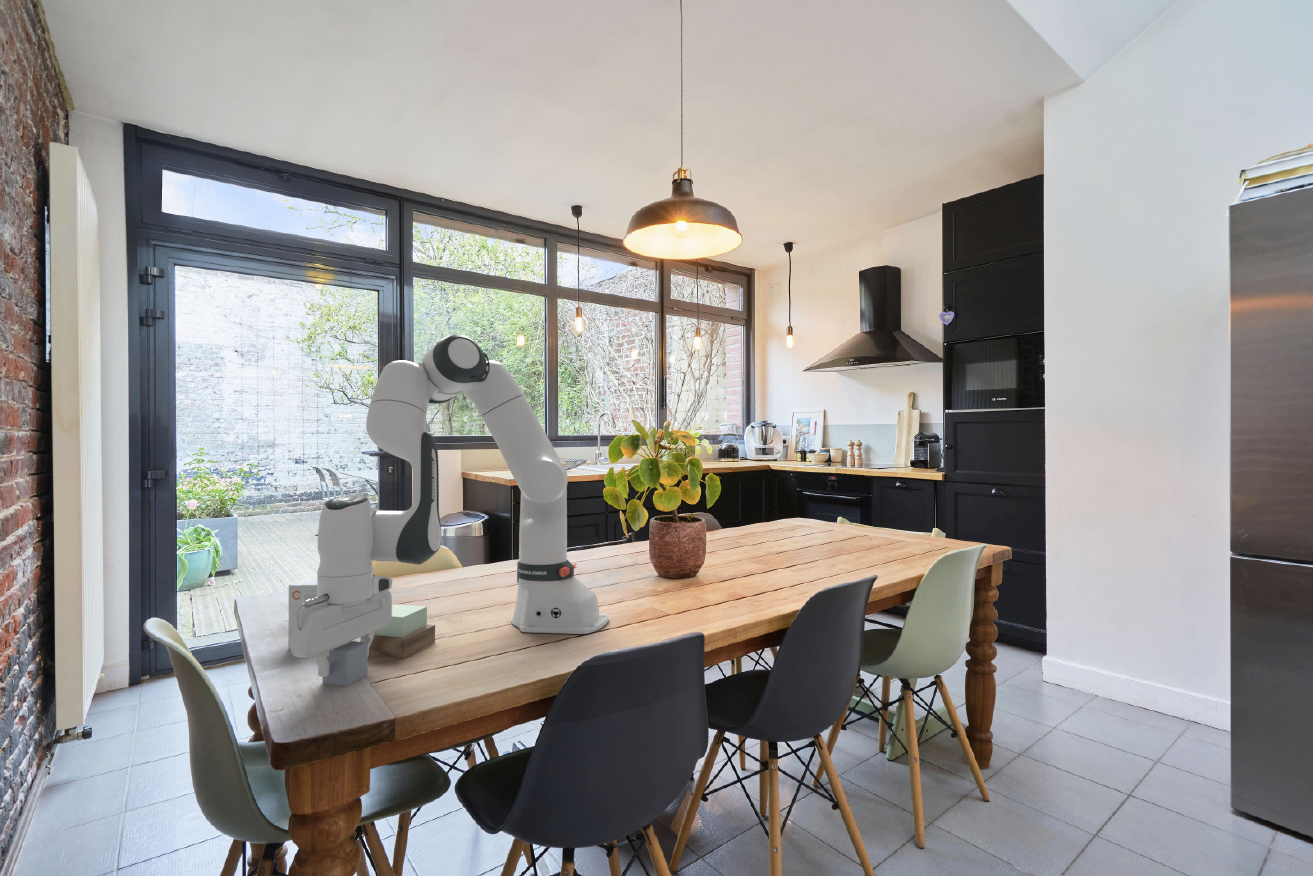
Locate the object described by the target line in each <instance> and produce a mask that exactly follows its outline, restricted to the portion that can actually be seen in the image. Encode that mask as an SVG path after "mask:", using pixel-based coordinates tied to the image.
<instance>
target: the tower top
mask: <svg viewBox="0 0 1313 876" xmlns="http://www.w3.org/2000/svg"><path fill="white" fill-rule="evenodd" d="M427 614H428V607H427V606H422V605H410V604H396V603H392V617H391V620H390V622H389V624H388V626H386V627H383V628H381V629H378V630H376V631H374V635H379V636H390V637H401V638H403V637H405V636H407V635H409V634H411V633H413V632H415V631H417V630H419V629H421V628H423V627H425V626H427V624H428V623H427V622H428V615H427Z"/></svg>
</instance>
